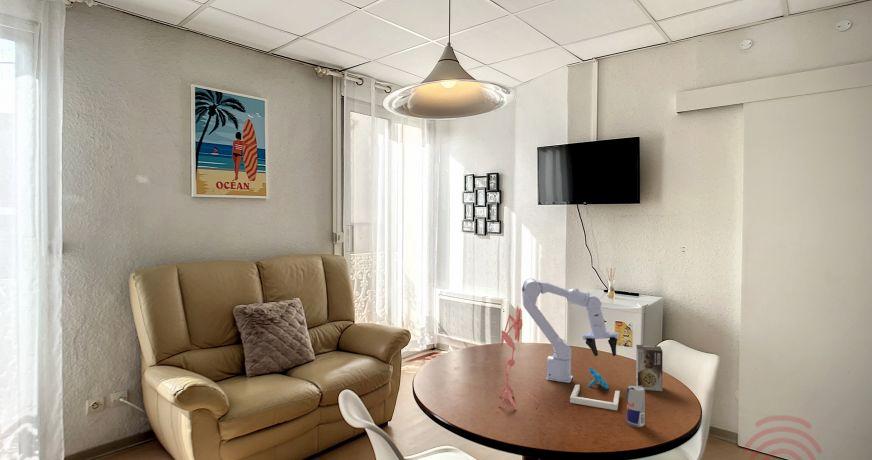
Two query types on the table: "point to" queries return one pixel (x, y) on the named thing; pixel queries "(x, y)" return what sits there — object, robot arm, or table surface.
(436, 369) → the table surface
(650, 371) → the coffee box
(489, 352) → the table surface
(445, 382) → the table surface
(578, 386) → the bracket
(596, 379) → the gear
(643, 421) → the energy drink
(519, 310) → the figurine
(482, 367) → the table surface
